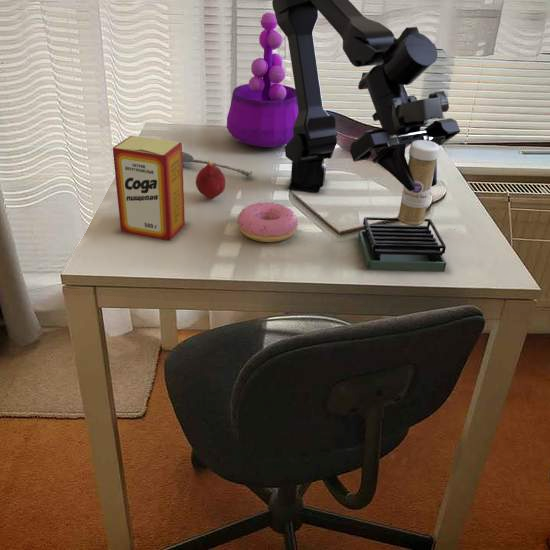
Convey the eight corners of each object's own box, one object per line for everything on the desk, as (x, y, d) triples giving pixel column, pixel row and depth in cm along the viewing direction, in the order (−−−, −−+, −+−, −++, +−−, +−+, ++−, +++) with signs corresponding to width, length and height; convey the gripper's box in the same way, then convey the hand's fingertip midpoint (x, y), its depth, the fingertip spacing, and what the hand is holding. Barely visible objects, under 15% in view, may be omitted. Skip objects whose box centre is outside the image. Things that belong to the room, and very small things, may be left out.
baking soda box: (121, 231, 108) (112, 145, 100) (137, 216, 114) (130, 133, 105) (170, 240, 106) (165, 153, 98) (184, 224, 112) (181, 140, 103)
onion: (230, 197, 123) (230, 159, 119) (216, 207, 118) (216, 169, 114) (205, 191, 125) (205, 153, 121) (190, 201, 120) (189, 163, 116)
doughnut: (308, 237, 110) (310, 216, 107) (256, 251, 104) (257, 230, 102) (276, 213, 117) (277, 193, 115) (226, 225, 112) (226, 205, 110)
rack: (370, 266, 101) (373, 244, 99) (361, 237, 110) (363, 217, 108) (441, 267, 102) (446, 246, 100) (426, 238, 110) (430, 218, 108)
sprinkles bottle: (398, 225, 101) (412, 148, 93) (395, 213, 104) (409, 137, 97) (426, 227, 100) (442, 150, 93) (422, 215, 104) (438, 140, 97)
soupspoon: (169, 159, 141) (154, 170, 136) (167, 145, 139) (152, 155, 134) (256, 173, 134) (244, 185, 129) (256, 158, 132) (244, 170, 127)
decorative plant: (221, 131, 157) (221, 5, 141) (290, 128, 161) (298, 6, 145) (234, 157, 141) (236, 19, 125) (311, 154, 145) (321, 20, 130)
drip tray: (367, 269, 101) (368, 261, 100) (357, 238, 110) (358, 230, 110) (444, 271, 102) (446, 263, 101) (428, 239, 111) (429, 231, 110)
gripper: (370, 78, 89) (407, 177, 87) (464, 68, 97) (500, 158, 95) (334, 115, 99) (366, 204, 97) (423, 103, 107) (454, 185, 105)
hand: (423, 187), depth 98 cm, fingers closed on sprinkles bottle, 4 cm apart
